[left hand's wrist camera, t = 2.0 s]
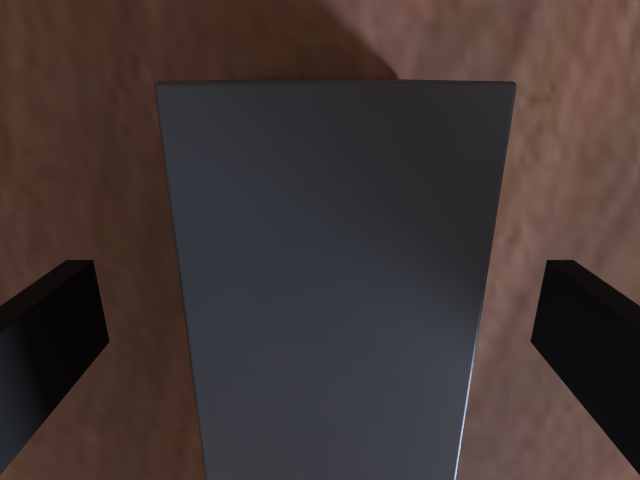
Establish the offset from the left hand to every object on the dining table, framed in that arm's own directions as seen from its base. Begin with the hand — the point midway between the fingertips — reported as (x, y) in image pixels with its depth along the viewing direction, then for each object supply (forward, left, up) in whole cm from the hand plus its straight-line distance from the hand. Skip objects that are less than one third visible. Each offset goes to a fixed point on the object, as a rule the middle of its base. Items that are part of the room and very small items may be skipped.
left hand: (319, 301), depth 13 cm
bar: (+20, +5, -4) cm, 21 cm away
